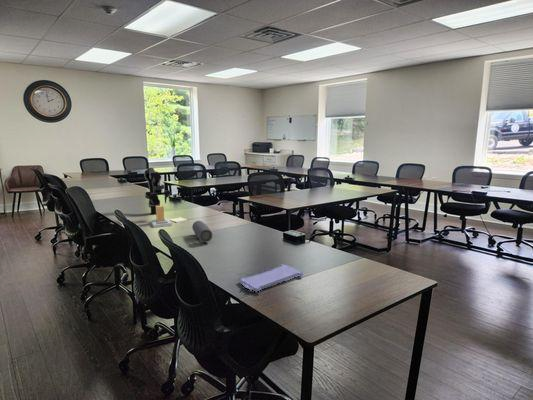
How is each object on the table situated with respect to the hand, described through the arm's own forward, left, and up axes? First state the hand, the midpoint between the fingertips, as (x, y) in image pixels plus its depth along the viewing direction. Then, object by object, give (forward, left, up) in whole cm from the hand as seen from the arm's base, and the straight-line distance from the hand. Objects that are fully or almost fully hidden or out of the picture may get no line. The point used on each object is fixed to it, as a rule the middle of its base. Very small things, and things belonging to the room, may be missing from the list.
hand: (159, 203), depth 259 cm
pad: (-2, +13, -14) cm, 19 cm away
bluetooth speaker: (+43, +43, -14) cm, 62 cm away
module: (+7, +2, -14) cm, 15 cm away
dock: (+9, +4, -14) cm, 16 cm away
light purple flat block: (+102, +90, -14) cm, 137 cm away
